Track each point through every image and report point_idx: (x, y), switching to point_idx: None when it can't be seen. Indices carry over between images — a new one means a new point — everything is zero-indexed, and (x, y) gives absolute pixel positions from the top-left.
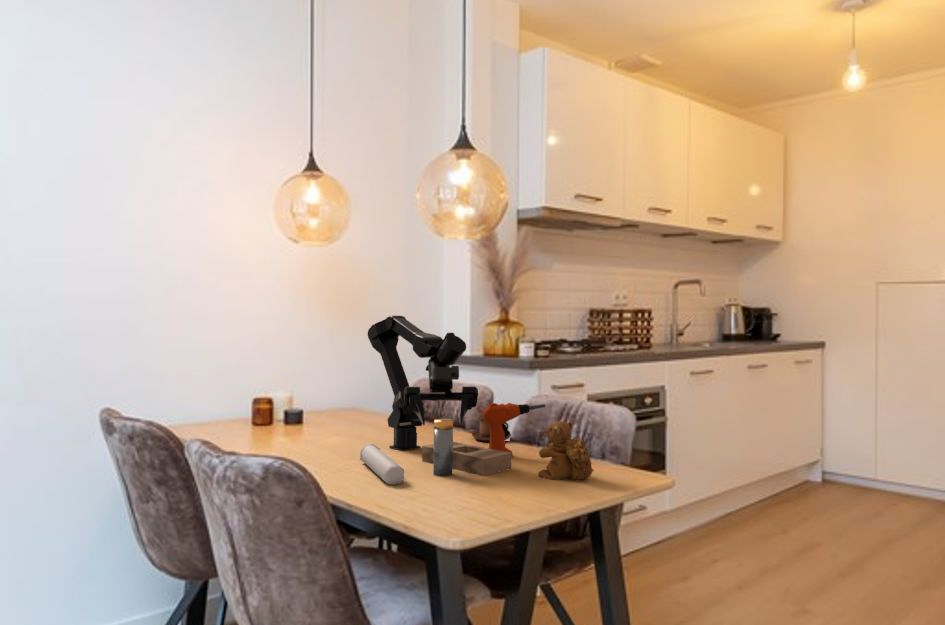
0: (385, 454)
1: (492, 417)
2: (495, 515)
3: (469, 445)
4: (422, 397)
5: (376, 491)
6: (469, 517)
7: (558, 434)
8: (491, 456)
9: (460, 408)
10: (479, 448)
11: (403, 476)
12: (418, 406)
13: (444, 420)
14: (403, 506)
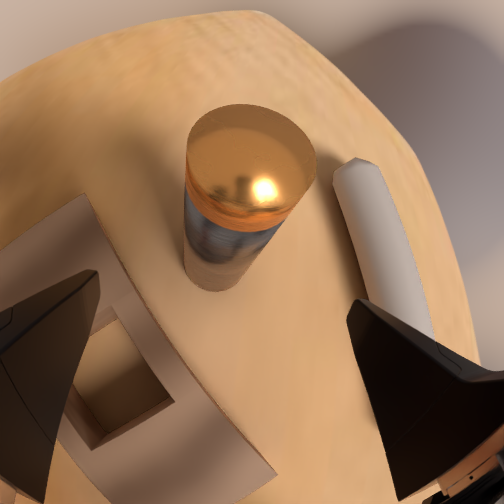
0: None
1: None
2: (195, 30)
3: (75, 451)
4: (477, 484)
5: (368, 153)
6: (230, 32)
7: None
8: (48, 224)
9: (35, 468)
10: None
11: (334, 178)
12: (461, 359)
13: (250, 136)
14: (314, 78)
